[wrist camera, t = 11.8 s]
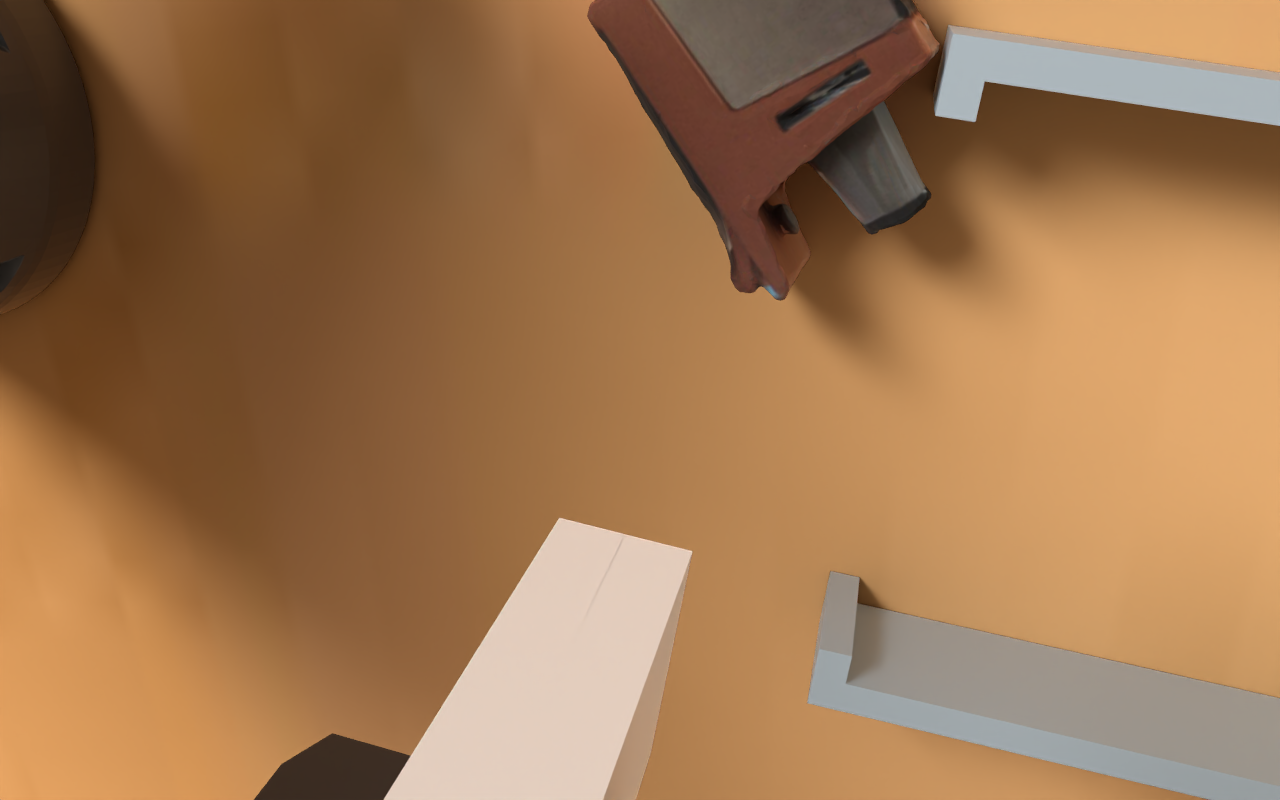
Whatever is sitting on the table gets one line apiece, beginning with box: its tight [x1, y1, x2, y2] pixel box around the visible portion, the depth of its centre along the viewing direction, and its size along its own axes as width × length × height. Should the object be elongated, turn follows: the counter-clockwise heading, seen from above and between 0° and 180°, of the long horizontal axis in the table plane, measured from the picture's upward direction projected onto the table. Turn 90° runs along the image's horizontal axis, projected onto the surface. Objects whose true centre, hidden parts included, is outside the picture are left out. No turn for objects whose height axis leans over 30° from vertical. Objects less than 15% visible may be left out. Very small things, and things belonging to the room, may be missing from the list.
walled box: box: [807, 25, 1280, 800], centre depth 33 cm, size 22×20×5 cm
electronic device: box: [587, 0, 940, 300], centre depth 32 cm, size 4×10×8 cm
